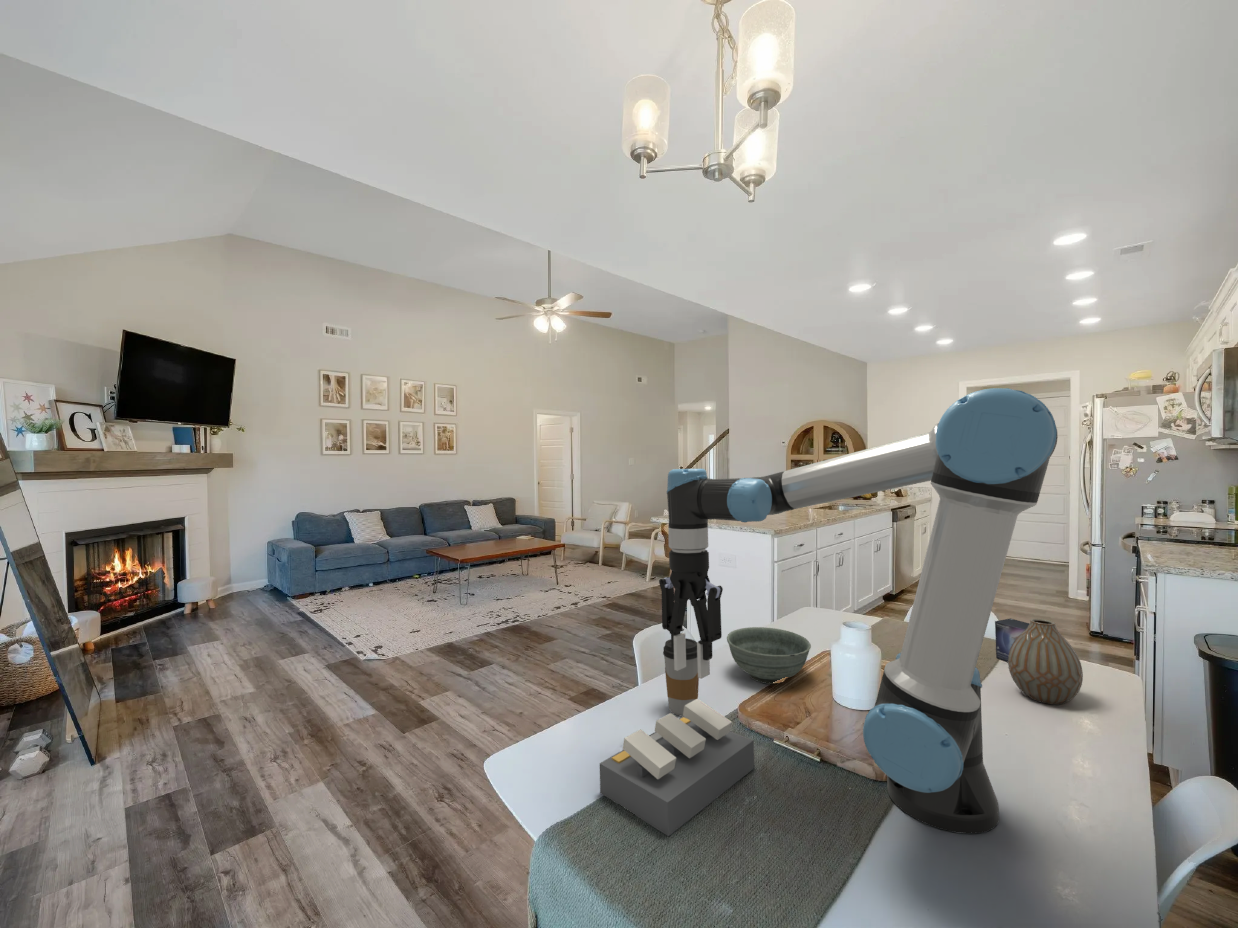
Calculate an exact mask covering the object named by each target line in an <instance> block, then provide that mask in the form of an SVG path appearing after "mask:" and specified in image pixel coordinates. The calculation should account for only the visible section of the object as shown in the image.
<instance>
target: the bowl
mask: <svg viewBox="0 0 1238 928" xmlns="http://www.w3.org/2000/svg"><path fill="white" fill-rule="evenodd" d="M726 642H727V644H728V646H729V650H730V654H731V656H732V658H733V661H734V662H735V663H736V665H738V667H739V668H740V669H741V670H742V671H743V672H745V673H746V674H748V676H749V677H750V678H751V679H752V680H754V681H757V682H760V683H763V684H767V685H768V684H770V685H773V684H772V683H773V682H775V681H777V680H780V679H782V678H785V677H789V678H791V677H794V676H795V675H797V673H799V672H800V671H801V670H802V668H803V667H804V666H805V664H806V662H807V659H808V656H809V652H810V650H811V648H812V645H811V642H809V640H808V639H807V638H806V637H804V636H803V635H800V634H798V633H795V632H793V631H790V630H785V629H780V628H775V627H762V626H758V627H757V626H753V627H750V626H749V627H743V628H738V629H733V630H732V631H730V632H729V633H728V634H727V636H726Z"/></svg>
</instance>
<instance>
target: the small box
mask: <svg viewBox="0 0 1238 928" xmlns="http://www.w3.org/2000/svg"><path fill="white" fill-rule="evenodd" d="M1029 624H1030V622H1025V621H1020V620H1017V619H1014V618H1006V619H1000V620H996V621H994V627H995V628H994V630H995V631H994V633H995V634H994V635H995V655H996V656H995V658H996V660H997V659H999V660H1000V661H1004V662H1006V663H1008V656H1009V651H1010V648H1011V646H1012V644H1013V642H1014V641H1015V640H1016V638H1017V637H1018V636H1019V635H1020V634H1021V633H1022V632H1023V631H1024V630H1026V629H1027V627H1028V626H1029Z"/></svg>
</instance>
